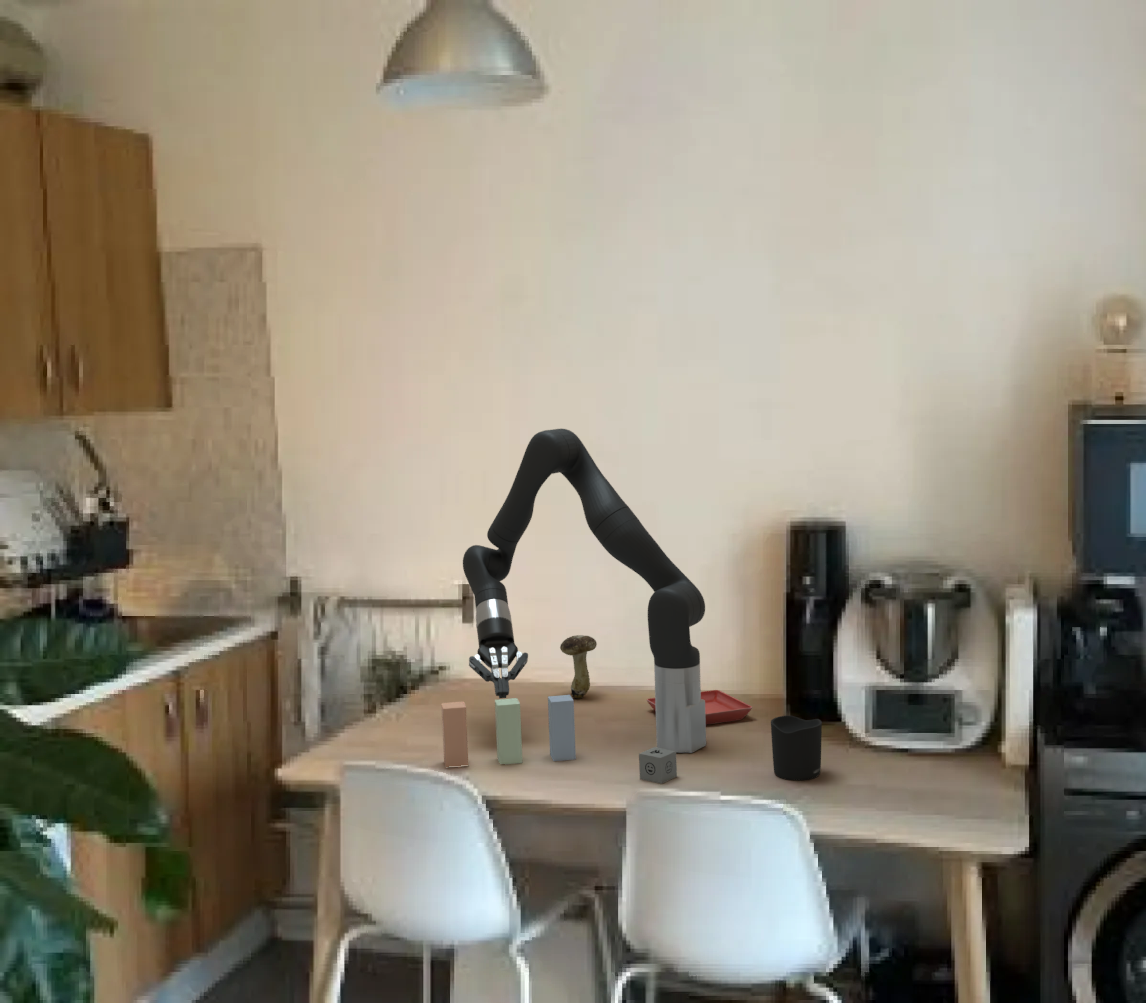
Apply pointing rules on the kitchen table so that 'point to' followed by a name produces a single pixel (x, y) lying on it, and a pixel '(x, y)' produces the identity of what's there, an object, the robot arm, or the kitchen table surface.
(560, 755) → the slate blue block
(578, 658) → the mushroom
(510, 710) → the sage green block
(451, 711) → the terracotta block
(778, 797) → the kitchen table surface
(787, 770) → the pen holder
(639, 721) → the kitchen table surface
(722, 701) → the red square tray
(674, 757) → the dice cube
